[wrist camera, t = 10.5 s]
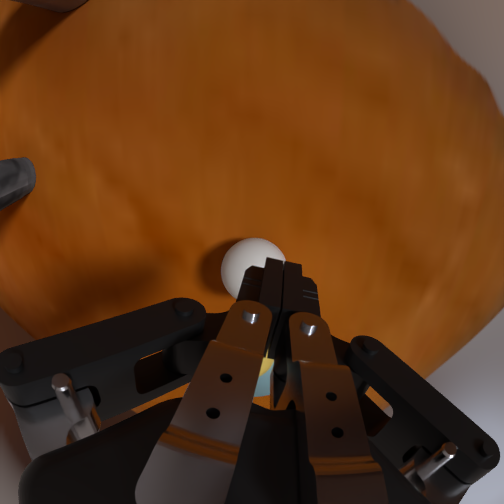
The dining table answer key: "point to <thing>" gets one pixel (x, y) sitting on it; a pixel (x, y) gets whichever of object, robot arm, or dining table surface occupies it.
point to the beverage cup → (15, 180)
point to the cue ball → (246, 261)
